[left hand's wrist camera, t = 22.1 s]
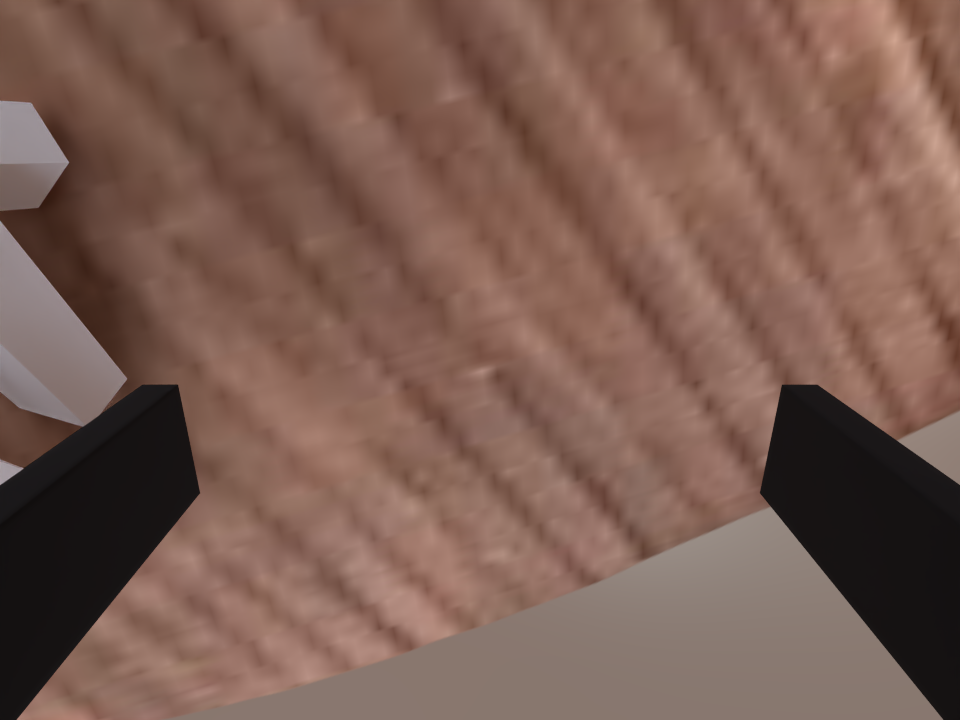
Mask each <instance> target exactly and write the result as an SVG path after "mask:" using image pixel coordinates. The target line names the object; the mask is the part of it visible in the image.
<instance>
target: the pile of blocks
mask: <svg viewBox="0 0 960 720" xmlns="http://www.w3.org/2000/svg"><path fill="white" fill-rule="evenodd" d="M68 163H69V162H68V160H67V159H66V157H65V155H64V154H63V152H62V151H61V149H60V147H59V146H58V144H57V143H56V141H55V140H54V138H53V136H52V135H51V133H50V132H49V130H48V129H47V127H46V125H45V124H44V122H43V121H42V119H41V118H40V116H39V114H38V113H37V111H36V110H35V108H34V107H33V105H32V103H28V102H13V101H0V211H6V210H18V209H30V208H39V206H40V205H41V203H42V202H43V200H44V199H45V197H46V196H47V194H48V193H49V192H50V190H51V189H52V187H53V186H54V184H55V183H56V181H57V180H58V178H59V177H60V175H61V174H62V172H63V171H64V169H65V168H66V166H67V165H68ZM126 380H127V378H126V376H125V375H124V374H123V373H122V371H121V370H120V369H119V368H118V366H117V365H116V364H115V363H114V362H113V360H112V359H111V358H110V357H109V355H108V354H107V353H106V352H105V350H104V349H103V348H102V347H101V345H100V344H99V343H98V342H97V340H96V339H95V338H94V337H93V335H92V334H91V333H90V332H89V330H88V329H87V328H86V327H85V326H84V324H83V323H82V322H81V321H80V319H79V318H78V317H77V316H76V314H75V313H74V312H73V311H72V309H71V308H70V307H69V306H68V304H67V303H66V302H65V301H64V299H63V298H62V297H61V296H60V294H59V293H58V292H57V291H56V290H55V288H54V287H53V286H52V285H51V283H50V282H49V281H48V280H47V278H46V277H45V276H44V275H43V273H42V272H41V271H40V270H39V268H38V267H37V266H36V265H35V263H34V262H33V261H32V260H31V258H30V257H29V256H28V255H27V254H26V252H25V251H24V250H23V249H22V247H21V246H20V245H19V244H18V242H17V241H16V240H15V239H14V237H13V236H12V235H11V234H10V232H9V231H8V230H7V229H6V227H5V226H4V225H3V224H2V222H1V221H0V392H1V393H2V394H3V395H5V396H6V397H7V398H8V399H9V400H10V401H12V402H13V403H14V404H15V405H16V406H18V407H19V408H21V409H24V410H28V411H31V412H34V413H38V414H41V415H45V416H48V417H51V418H55V419H58V420H62V421H65V422H68V423H72V424H75V425H78V426H82V427H83V426H85V425H86V424H88V423H89V422H91V421H92V420H93V419H95V418H96V417H98V416H99V415H100V414H101V413H102V411H103V410H104V409H105V407H106V406H107V405H108V403H109V402H110V401H111V400H112V398H113V397H114V396H115V394H116V393H117V392H118V390H119V389H120V388H121V387H122V385H123V384H124V383H125V381H126ZM22 469H24V468H22V467H20V466H17V465H14V464H12V463H9V462H6V461H3V460H1V459H0V485H1V484H2V483H4V482H5V481H7V480H8V479H10V478H11V477H12V476H14V475H15V474H17V473H18V472H19V471H21V470H22Z"/></svg>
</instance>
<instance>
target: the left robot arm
mask: <svg viewBox="0 0 960 720" xmlns="http://www.w3.org/2000/svg"><path fill="white" fill-rule="evenodd" d="M199 494H200V491H199V486H198V481H197V476H196V471H195V466H194V461H193V456H192V451H191V446H190V442H189V437H188V432H187V427H186V422H185V417H184V412H183V407H182V402H181V397H180V392H179V388H178V385H142V386H140V387H139V388H137V389H136V390H135V391H133V392H132V393H130V394H129V395H127V396H126V397H125V398H123V399H122V400H120V401H119V402H118V403H116V404H115V405H113V406H112V407H110V408H109V409H108V410H106V411H105V412H103V413H102V414H100V415H99V416H98V417H96V418H95V419H93V420H92V421H91V422H89V423H88V424H86V425H85V426H83V427H82V428H81V429H79V430H78V431H76V432H75V433H73V434H72V435H71V436H69V437H68V438H66V439H65V440H64V441H62V442H61V443H59V444H58V445H56V446H55V447H54V448H52V449H51V450H49V451H48V452H46V453H45V454H44V455H42V456H41V457H39V458H38V459H37V460H35V461H34V462H32V463H31V464H29V465H28V466H27V467H25V468H24V469H22V470H21V471H19V472H18V473H17V474H15V475H14V476H12V477H11V478H10V479H8V480H7V481H5V482H4V483H2V484H1V485H0V720H17V718H18V717H19V716H20V715H21V714H22V712H23V711H24V710H25V709H26V707H27V706H28V705H29V704H30V702H31V701H32V700H33V699H34V697H35V696H36V695H37V694H38V693H39V691H40V690H41V689H42V688H43V686H44V685H45V684H46V683H47V681H48V680H49V679H50V678H51V676H52V675H53V674H54V673H55V672H56V670H57V669H58V668H59V667H60V665H61V664H62V663H63V662H64V660H65V659H66V658H67V657H68V655H69V654H70V653H71V652H72V651H73V649H74V648H75V647H76V646H77V644H78V643H79V642H80V641H81V639H82V638H83V637H84V636H85V634H86V633H87V632H88V631H89V630H90V628H91V627H92V626H93V625H94V623H95V622H96V621H97V620H98V618H99V617H100V616H101V615H102V613H103V612H104V611H105V610H106V609H107V607H108V606H109V605H110V604H111V602H112V601H113V600H114V599H115V597H116V596H117V595H118V594H119V592H120V591H121V590H122V589H123V588H124V586H125V585H126V584H127V583H128V581H129V580H130V579H131V578H132V576H133V575H134V574H135V573H136V571H137V570H138V569H139V568H140V567H141V565H142V564H143V563H144V562H145V560H146V559H147V558H148V557H149V555H150V554H151V553H152V552H153V551H154V549H155V548H156V547H157V546H158V544H159V543H160V542H161V541H162V539H163V538H164V537H165V536H166V534H167V533H168V532H169V531H170V530H171V528H172V527H173V526H174V525H175V523H176V522H177V521H178V520H179V518H180V517H181V516H182V515H183V513H184V512H185V511H186V510H187V509H188V507H189V506H190V505H191V504H192V502H193V501H194V500H195V499H196V497H197V496H198V495H199ZM760 494H761V495H762V496H763V497H764V499H765V500H766V501H767V502H768V504H769V505H770V506H771V507H772V509H773V510H774V511H775V512H776V513H777V515H778V516H779V517H780V518H781V520H782V521H783V522H784V523H785V525H786V526H787V527H788V528H789V530H790V531H791V532H792V533H793V534H794V536H795V537H796V538H797V539H798V541H799V542H800V543H801V544H802V546H803V547H804V548H805V549H806V550H807V552H808V553H809V554H810V555H811V557H812V558H813V559H814V560H815V562H816V563H817V564H818V565H819V566H820V568H821V569H822V570H823V571H824V573H825V574H826V575H827V576H828V578H829V579H830V580H831V581H832V583H833V584H834V585H835V586H836V588H837V589H838V590H839V591H840V592H841V594H842V595H843V596H844V597H845V599H846V600H847V601H848V602H849V604H850V605H851V606H852V607H853V609H854V610H855V611H856V612H857V613H858V615H859V616H860V617H861V618H862V620H863V621H864V622H865V623H866V625H867V626H868V627H869V628H870V630H871V631H872V632H873V633H874V634H875V636H876V637H877V638H878V639H879V641H880V642H881V643H882V644H883V646H884V647H885V648H886V649H887V650H888V652H889V653H890V654H891V655H892V657H893V658H894V659H895V660H896V662H897V663H898V664H899V665H900V667H901V668H902V669H903V670H904V671H905V673H906V674H907V675H908V676H909V678H910V679H911V680H912V681H913V683H914V684H915V685H916V686H917V688H918V689H919V690H920V691H921V692H922V694H923V695H924V696H925V697H926V699H927V700H928V701H929V702H930V704H931V705H932V706H933V707H934V709H935V710H936V711H937V712H938V714H939V715H940V716H941V717H942V718H943V720H960V485H959V484H958V483H956V482H955V481H953V480H952V479H950V478H949V477H948V476H946V475H945V474H943V473H942V472H940V471H939V470H938V469H936V468H935V467H933V466H932V465H930V464H929V463H928V462H926V461H925V460H923V459H922V458H921V457H919V456H918V455H916V454H915V453H913V452H912V451H911V450H909V449H908V448H906V447H905V446H904V445H902V444H901V443H899V442H898V441H896V440H895V439H894V438H892V437H891V436H889V435H888V434H887V433H885V432H884V431H882V430H881V429H879V428H878V427H877V426H875V425H874V424H872V423H871V422H869V421H868V420H867V419H865V418H864V417H862V416H861V415H860V414H858V413H857V412H855V411H854V410H852V409H851V408H850V407H848V406H847V405H845V404H844V403H842V402H841V401H840V400H838V399H837V398H835V397H834V396H833V395H831V394H830V393H828V392H827V391H825V390H824V389H823V388H821V387H820V386H818V385H782V388H781V392H780V397H779V402H778V407H777V412H776V417H775V422H774V427H773V432H772V437H771V442H770V446H769V451H768V456H767V461H766V466H765V471H764V476H763V481H762V486H761V491H760Z"/></svg>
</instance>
